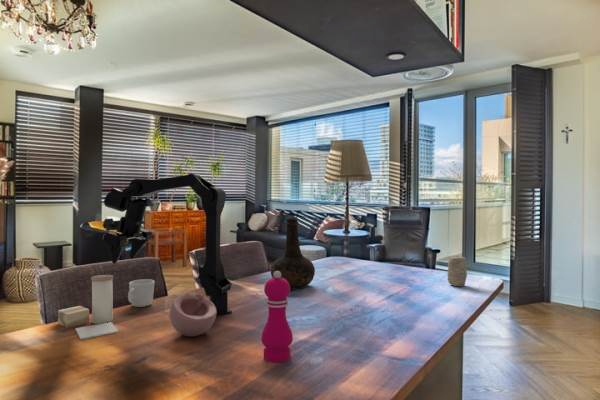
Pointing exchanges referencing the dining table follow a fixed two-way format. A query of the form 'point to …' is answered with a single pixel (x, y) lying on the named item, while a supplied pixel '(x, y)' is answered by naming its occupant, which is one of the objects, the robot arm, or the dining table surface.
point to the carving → (457, 270)
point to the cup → (141, 292)
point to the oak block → (73, 316)
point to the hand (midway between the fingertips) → (123, 260)
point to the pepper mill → (277, 320)
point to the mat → (96, 330)
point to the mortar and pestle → (192, 314)
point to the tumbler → (102, 299)
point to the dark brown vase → (294, 260)
